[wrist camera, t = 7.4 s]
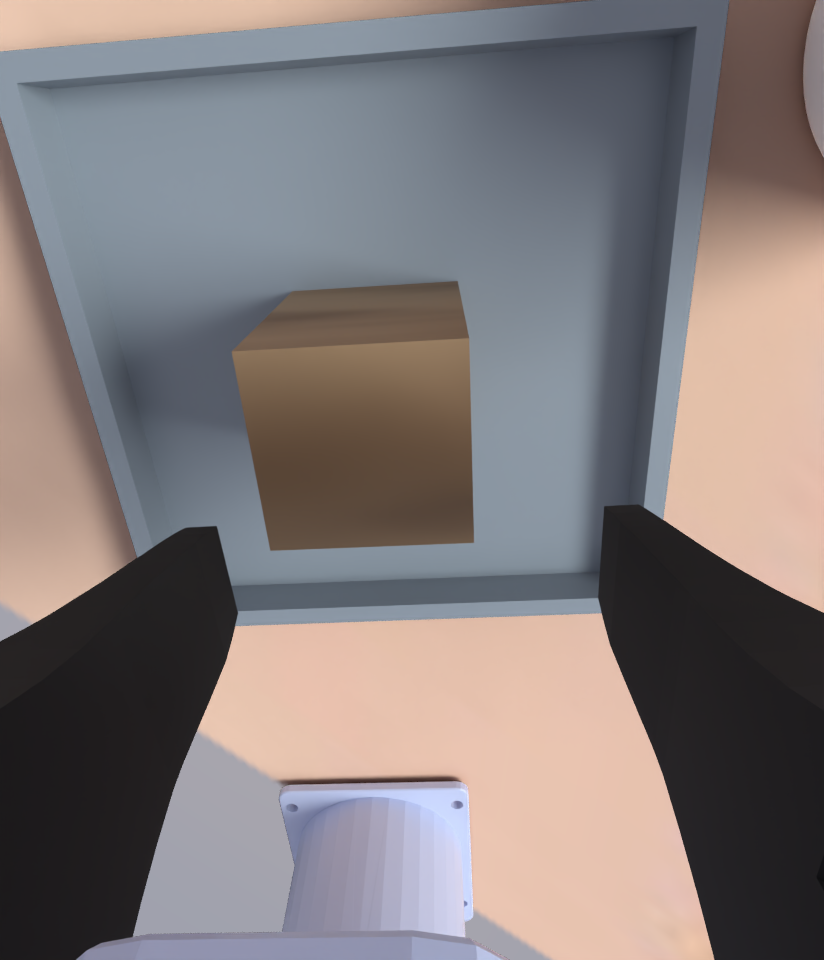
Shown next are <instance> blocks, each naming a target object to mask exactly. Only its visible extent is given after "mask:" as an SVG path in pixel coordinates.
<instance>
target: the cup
mask: <svg viewBox="0 0 824 960" xmlns="http://www.w3.org/2000/svg"><path fill="white" fill-rule="evenodd" d="M803 88H804V99H805V106H806V112H807V116H808V121H809V125H810V128H811V131H812V134H813V136H814V139H815V142H816V144H817V146H818V148H819V150H820V152H821V154H822V155H823V157H824V0H816V2H815V5H814V9H813V12H812V15H811V19H810V24H809V29H808V33H807V38H806V46H805V53H804V66H803Z"/></svg>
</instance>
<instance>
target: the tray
mask: <svg viewBox="0 0 824 960" xmlns="http://www.w3.org/2000/svg"><path fill="white" fill-rule="evenodd" d="M728 7H729V0H591V1H580V2H568V3H556V4H545V5H533V6H522V7H510V8H499V9H487V10H476V11H464V12H452V13H441V14H429V15H418V16H406V17H395V18H383V19H372V20H360V21H348V22H337V23H325V24H314V25H302V26H291V27H279V28H268V29H256V30H244V31H233V32H221V33H210V34H198V35H187V36H175V37H164V38H152V39H140V40H129V41H117V42H106V43H94V44H83V45H71V46H60V47H48V48H37V49H25V50H13V51H2V52H0V117H1V121H2V124H3V127H4V130H5V133H6V137H7V140H8V143H9V146H10V150H11V153H12V156H13V159H14V162H15V166H16V169H17V172H18V175H19V179H20V182H21V185H22V188H23V191H24V195H25V198H26V201H27V204H28V208H29V211H30V214H31V217H32V220H33V224H34V227H35V230H36V233H37V237H38V240H39V243H40V246H41V249H42V253H43V256H44V259H45V262H46V266H47V269H48V272H49V275H50V278H51V282H52V285H53V288H54V291H55V294H56V298H57V301H58V304H59V307H60V311H61V314H62V317H63V320H64V323H65V327H66V330H67V333H68V336H69V340H70V343H71V346H72V349H73V352H74V356H75V359H76V362H77V365H78V369H79V372H80V375H81V378H82V381H83V385H84V388H85V391H86V394H87V398H88V401H89V404H90V407H91V410H92V414H93V417H94V420H95V423H96V426H97V430H98V433H99V436H100V439H101V443H102V446H103V449H104V452H105V455H106V459H107V462H108V465H109V468H110V472H111V475H112V478H113V481H114V484H115V488H116V491H117V494H118V497H119V501H120V504H121V507H122V510H123V513H124V517H125V520H126V523H127V526H128V530H129V533H130V536H131V539H132V542H133V546H134V549H135V552H136V555H137V558H138V557H139V556H141V555H142V554H144V553H145V552H147V551H148V550H150V549H151V548H153V547H154V546H156V545H157V544H159V543H160V542H162V541H163V540H165V539H166V538H168V537H170V536H171V535H173V534H174V533H176V532H178V531H180V530H182V529H184V528H187V527H206V526H217V529H218V533H219V537H220V541H221V545H222V549H223V553H224V557H225V561H226V566H227V570H228V574H229V578H230V582H231V586H232V590H233V594H234V598H235V602H236V606H237V611H238V616H237V620H236V624H235V626H250V625H278V624H307V623H335V622H364V621H393V620H421V619H450V618H478V617H507V616H535V615H564V614H592V613H602V612H601V608H600V604H599V600H598V590H599V575H600V560H601V545H602V530H603V516H604V506H616V505H635V504H639V505H640V506H642V507H644V508H646V509H647V510H649V511H650V512H652V513H654V514H655V515H657V516H658V517H660V518H661V519H663V517H664V509H665V501H666V493H667V485H668V477H669V470H670V462H671V454H672V446H673V438H674V430H675V423H676V415H677V407H678V399H679V391H680V383H681V375H682V368H683V360H684V352H685V344H686V336H687V328H688V321H689V313H690V305H691V297H692V289H693V281H694V273H695V266H696V258H697V250H698V242H699V234H700V226H701V219H702V211H703V203H704V195H705V187H706V179H707V172H708V164H709V156H710V148H711V140H712V132H713V124H714V117H715V109H716V101H717V93H718V85H719V77H720V70H721V62H722V54H723V46H724V38H725V30H726V22H727V15H728ZM451 281H458V285H459V290H460V295H461V300H462V305H463V310H464V315H465V320H466V325H467V329H468V334H469V347H470V390H471V432H472V474H473V517H474V543H459V544H434V545H408V546H382V547H357V548H331V549H305V550H280V551H270V547H269V542H268V537H267V531H266V526H265V521H264V516H263V511H262V506H261V500H260V495H259V490H258V485H257V480H256V475H255V470H254V464H253V459H252V454H251V449H250V444H249V439H248V434H247V428H246V423H245V418H244V413H243V408H242V403H241V398H240V392H239V387H238V382H237V377H236V372H235V367H234V361H233V356H232V351H233V350H234V349H235V348H236V347H237V346H238V345H239V344H240V343H241V342H242V341H243V340H244V339H245V338H246V337H247V336H248V335H249V334H250V333H251V332H252V331H253V330H254V329H255V328H256V327H257V326H258V325H259V324H260V323H261V322H262V321H263V320H264V319H265V318H266V317H267V316H268V315H269V314H270V313H271V312H272V311H273V310H274V309H275V308H276V307H277V306H278V305H279V304H280V303H281V302H282V301H283V300H284V299H285V298H286V297H287V296H288V295H289V294H290V293H291V292H292V291H303V290H320V289H336V288H352V287H369V286H385V285H402V284H418V283H435V282H451Z"/></svg>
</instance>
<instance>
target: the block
mask: <svg viewBox="0 0 824 960" xmlns="http://www.w3.org/2000/svg"><path fill="white" fill-rule="evenodd" d="M232 356H233V361H234V367H235V372H236V377H237V382H238V387H239V392H240V398H241V403H242V408H243V413H244V418H245V423H246V428H247V434H248V439H249V444H250V449H251V454H252V459H253V464H254V470H255V475H256V480H257V485H258V490H259V495H260V500H261V506H262V511H263V516H264V521H265V526H266V531H267V537H268V542H269V547H270V551H280V550H305V549H331V548H357V547H382V546H408V545H434V544H459V543H474V517H473V474H472V432H471V390H470V347H469V334H468V329H467V325H466V320H465V315H464V310H463V305H462V300H461V295H460V290H459V285H458V281H451V282H435V283H418V284H402V285H385V286H369V287H352V288H336V289H320V290H303V291H292V292H291V293H290V294H289V295H288V296H287V297H286V298H285V299H284V300H283V301H282V302H281V303H280V304H279V305H278V306H277V307H276V308H275V309H274V310H273V311H272V312H271V313H270V314H269V315H268V316H267V317H266V318H265V319H264V320H263V321H262V322H261V323H260V324H259V325H258V326H257V327H256V328H255V329H254V330H253V331H252V332H251V333H250V334H249V335H248V336H247V337H246V338H245V339H244V340H243V341H242V342H241V343H240V344H239V345H238V346H237V347H236V348H235V349H234V350H233V351H232Z"/></svg>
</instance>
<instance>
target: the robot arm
mask: <svg viewBox="0 0 824 960" xmlns="http://www.w3.org/2000/svg"><path fill="white" fill-rule="evenodd" d="M598 600H599V604H600V608H601V612H602V616H603V620H604V624H605V627H606V631H607V635H608V638H609V642H610V645H611V648H612V650H613V653H614V655H615V658H616V660H617V663H618V665H619V668H620V670H621V672H622V675H623V677H624V680H625V682H626V685H627V687H628V689H629V692H630V694H631V696H632V699H633V701H634V704H635V706H636V708H637V711H638V713H639V716H640V718H641V720H642V723H643V725H644V727H645V730H646V732H647V735H648V737H649V739H650V742H651V744H652V747H653V749H654V751H655V754H656V757H657V760H658V762H659V765H660V768H661V771H662V773H663V776H664V780H665V783H666V786H667V790H668V793H669V796H670V800H671V803H672V806H673V810H674V813H675V816H676V820H677V823H678V826H679V830H680V833H681V837H682V840H683V844H684V847H685V851H686V854H687V858H688V862H689V865H690V869H691V872H692V876H693V879H694V883H695V887H696V890H697V894H698V898H699V901H700V905H701V909H702V913H703V917H704V921H705V924H706V928H707V932H708V936H709V940H710V944H711V947H712V951H713V955H714V959H715V960H824V613H823V612H821V611H818V610H816V609H814V608H812V607H810V606H808V605H806V604H804V603H802V602H799V601H797V600H795V599H793V598H791V597H789V596H787V595H785V594H783V593H781V592H779V591H777V590H775V589H774V588H772V587H770V586H768V585H766V584H764V583H763V582H761V581H759V580H757V579H756V578H754V577H752V576H750V575H749V574H747V573H745V572H743V571H742V570H740V569H738V568H736V567H735V566H733V565H731V564H730V563H728V562H727V561H725V560H723V559H722V558H720V557H718V556H717V555H715V554H714V553H712V552H711V551H709V550H707V549H706V548H704V547H703V546H701V545H700V544H698V543H697V542H695V541H694V540H692V539H691V538H689V537H688V536H686V535H685V534H683V533H682V532H680V531H679V530H677V529H676V528H674V527H673V526H671V525H670V524H668V523H667V522H666V521H664V520H663V519H661V518H660V517H658V516H657V515H655V514H654V513H652V512H650V511H649V510H647V509H646V508H644V507H642V506H640V505H639V504H635V505H616V506H604V516H603V530H602V545H601V560H600V575H599V590H598ZM237 616H238V611H237V606H236V602H235V598H234V594H233V590H232V586H231V582H230V578H229V574H228V570H227V566H226V561H225V557H224V553H223V549H222V545H221V541H220V537H219V533H218V529H217V526H206V527H187V528H184V529H182V530H180V531H178V532H176V533H174V534H173V535H171V536H170V537H168V538H166V539H165V540H163V541H162V542H160V543H159V544H157V545H156V546H154V547H153V548H151V549H150V550H148V551H147V552H145V553H144V554H142V555H141V556H139V557H138V558H136V559H135V560H134V561H132V562H131V563H129V564H128V565H126V566H125V567H123V568H122V569H120V570H119V571H117V572H116V573H114V574H113V575H111V576H110V577H108V578H107V579H105V580H104V581H102V582H101V583H99V584H98V585H96V586H95V587H93V588H91V589H90V590H88V591H87V592H85V593H83V594H82V595H80V596H79V597H77V598H75V599H74V600H72V601H71V602H69V603H67V604H66V605H64V606H63V607H61V608H59V609H58V610H56V611H55V612H53V613H51V614H50V615H48V616H46V617H45V618H43V619H41V620H39V621H38V622H36V623H34V624H32V625H30V626H29V627H27V628H25V629H23V630H21V631H19V632H18V633H16V634H14V635H12V636H10V637H8V638H6V639H4V640H2V641H1V642H0V960H509V959H507V958H505V957H504V956H501V955H500V954H498V953H496V952H494V951H493V950H491V949H489V948H487V947H485V946H483V945H481V944H480V943H478V942H476V941H474V940H472V939H470V938H465V921H469V920H470V919H471V918H472V917H473V897H472V872H471V847H470V822H469V797H468V788H467V786H466V785H465V784H464V783H462V782H458V781H444V782H397V783H349V784H302V785H286V786H284V787H283V788H282V789H281V791H280V795H279V802H280V806H281V810H282V814H283V818H284V822H285V827H286V831H287V835H288V839H289V843H290V848H291V851H292V856H293V860H294V864H295V867H294V872H293V877H292V882H291V888H290V893H289V898H288V903H287V909H286V914H285V919H284V924H283V929H282V932H257V933H256V932H254V933H190V934H189V933H185V934H184V933H183V934H147V935H141V936H136V937H133V933H134V929H135V925H136V920H137V916H138V913H139V909H140V904H141V900H142V897H143V893H144V889H145V886H146V882H147V878H148V875H149V871H150V868H151V864H152V860H153V857H154V853H155V849H156V846H157V842H158V839H159V835H160V832H161V829H162V825H163V822H164V819H165V815H166V812H167V809H168V806H169V802H170V799H171V796H172V792H173V789H174V786H175V784H176V781H177V778H178V775H179V773H180V770H181V768H182V765H183V762H184V760H185V758H186V755H187V753H188V750H189V748H190V746H191V743H192V741H193V738H194V736H195V734H196V732H197V729H198V727H199V724H200V722H201V720H202V717H203V715H204V713H205V710H206V708H207V706H208V703H209V701H210V698H211V696H212V694H213V691H214V689H215V686H216V684H217V681H218V679H219V677H220V674H221V672H222V669H223V667H224V664H225V662H226V659H227V655H228V652H229V648H230V644H231V641H232V637H233V633H234V629H235V624H236V620H237Z"/></svg>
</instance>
